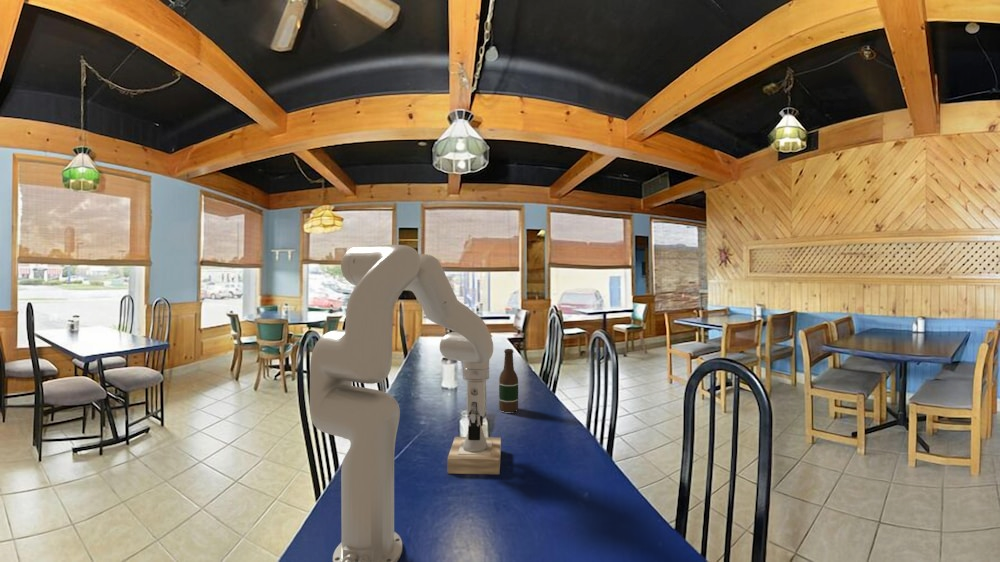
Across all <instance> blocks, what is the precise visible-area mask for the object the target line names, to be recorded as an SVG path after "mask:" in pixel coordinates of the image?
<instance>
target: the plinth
mask: <svg viewBox="0 0 1000 562" xmlns="http://www.w3.org/2000/svg"><path fill="white" fill-rule="evenodd" d="M465 438H466V436H454V437H453V442H452V444H451V448H450V449H449V453H448V455H447V461H446V462H447V467H446V468H447V469H446V470H447V473H446V474H457V475H458V474H465V475H469V474H470V475H500V473H501V472H500V468H501V453H502V438H501V437H494V436H493V437H487V436H485V439H486V442H487V446H488V447H487V448H486V449H485V450H483V451H478V452H471V451H467V450H464V449H463V444H464V441H465Z"/></svg>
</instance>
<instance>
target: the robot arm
mask: <svg viewBox="0 0 1000 562" xmlns="http://www.w3.org/2000/svg"><path fill="white" fill-rule="evenodd" d="M340 261H341V262H340V270H341V273H342V276H343V277H344V279H345V280H346V281H347V282H348V283H350V284H351V285H353V286H355V287H354V289H353V290H352V292H351V293H350V295H349V298H348V301H347V302H346V303H347V304H346V308H345V309H346V310H345V323H344V324H345V326H344V329H335V330H334V329H333V330H330V331H328V332H326V333H324V334H322V336H321V337H319V339H318V340H317V341H316V343H315V344H314V347H313V349H312V351H311V356H310V361H309V362H310V364H309V365H310V366H309V411H310V412H309V413H310V414H309V415H310V418H311V422H312V425H313V426H314V427H315V428H316V429H317V430H318V431H320V432H322V433H325V434H328V435H332V436H336V437H339V438H343V439H345V440H348V441H350V444H349V445H350V446H349V448H348V449H347V452H346V454H345V455H344V457H343V460H342V463H341V470H340V473H341V475H340V482H341V485H340V486H341V488H340V491H341V492H340V493H341V494H340V496H341V498H340V499H341V503H340V504H341V505H340V507H341V513H340V514H341V516H340V518H341V520H340V521H341V542H340V543H339V544H337V545H338V546H337V547H336V548H335V549H334V552H333V554H332V562H398V561H399V560H400V558H401V555H402V554H403V540H402V537H401V536H400V534H398V533H397V532H396V531H395V447H396V438H397V432H398V427H399V423H400V416H401V415H400V414H401V410H400V406H399V403H398V401H397V399H396V398H394V396H393V395H391V394H389V393H388V392H385V391H382V390H379V389H373V388H368V387H363V386H355V385H353V383H358V384H359V383H361V384H365V385H373V384H378V383H381V382H382V381H384V380H386V378H388V376H389V375H390V372H391V370H392V364H393V327H394V325H393V323H394V310H395V306H396V303H397V301H398V299H399V297H400V296H401V295H402V293H403V291H409V292H412V293H413V295H414V296H415V298H416V300H417V302H418V303H419V305H420V307H421V309H422V310H423V313H424V315H425V316H426V318H427V319H428V320H429V321H431V322H433V323H434V324H436V325H438V326H440V327H443V328H444V329H445V328H446V329H447V330H450V331H453V332H448V333H446V334H445V335H444V336H443V337H442V338H441V339H440V343H439V351H440V353H441V355H442V357H444V358H445V359H448V360H451V361H459V362H462V379H463V380H464V381H466V415H467V416H468V417H469V419H468V425H467V426H468V427H467V429H468V430H467V433H468V440H480V425H479V419H480V423H481V427H483V424H484V421H483V420H484V417H485V415H486V412H487V381H488V380H490V360H491V358H492V356H493V353H494V342H493V339H492V338H493V337H492V335H491V333H490V331H489V328H488V326H487V324H486V322H485V321H484V320H483V319H482V318H481V317H480V316H479V315H478V314H476V312H474V311H473V310H472V309H470V308H469V307H468V306H466V305H465V304H463V303H462V302H461V301H459V300H458V298H457V296H456V294H455V292H454V289H453V287H452V285H451V283H450V280H449V279H448V277H447V275H446V274H447V273H445V271H444V268H443V267H442V266H443V265H442V264H441V262H440V261H439V259H438V258H436V257H435V256H434V255H431V254H425V253H419V252H418V251H417V250H416V249H415V248H414V247H411V246H409V245H405V244H379V245H359V246H355V247H354V246H353V247H351V248H350V249H348V250H347V251H346V252H345V253H344V255H343V256H342V258H341V260H340ZM476 413H478V414H476Z"/></svg>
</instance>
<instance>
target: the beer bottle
mask: <svg viewBox="0 0 1000 562" xmlns="http://www.w3.org/2000/svg"><path fill="white" fill-rule="evenodd" d="M503 352H504V360H503V361H504V364H503V370H502V371H501V372H500V375H499V379H498V380H499V381H498V385H499V386H498V407H499V408H498V409H499V411H500V410H501V411H504V412H514V411H516V410H518V411H519V377H518V374H517V373H516V371H515V369H514V368H515V367H514V350H513V349H512V348H505V349H504V351H503Z"/></svg>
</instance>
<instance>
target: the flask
mask: <svg viewBox="0 0 1000 562" xmlns="http://www.w3.org/2000/svg"><path fill="white" fill-rule="evenodd" d="M476 414H478V413H476ZM479 425H480V440H468V432H467V434H466V436H465V437H466V438H465V441H464V444H463V449H464V450H467V451H471V452H478V451H483V450H485V449H486V448H487V447H488V446H487V442H486V439H485V437H486V436H485V433H484V430H483V428H482V427H483V426H481V423H480V419H479Z"/></svg>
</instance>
